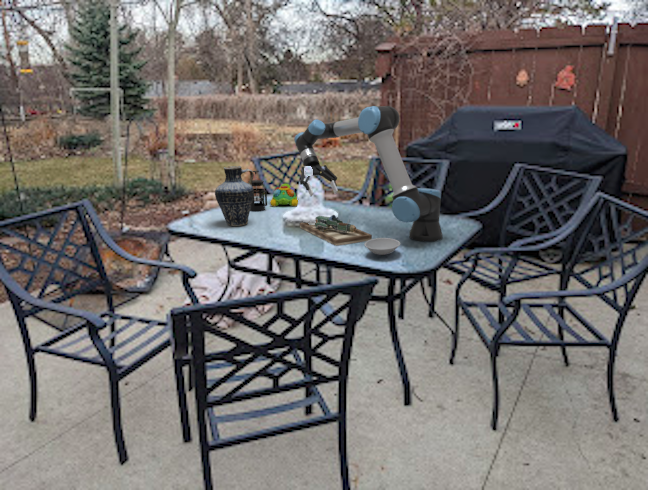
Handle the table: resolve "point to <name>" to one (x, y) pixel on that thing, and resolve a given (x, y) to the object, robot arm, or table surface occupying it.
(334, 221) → the hoverbike
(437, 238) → the robot arm
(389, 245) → the dish
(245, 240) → the table surface
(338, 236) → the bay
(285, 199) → the turtle toy
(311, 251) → the table surface
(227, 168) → the jug
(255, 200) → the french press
